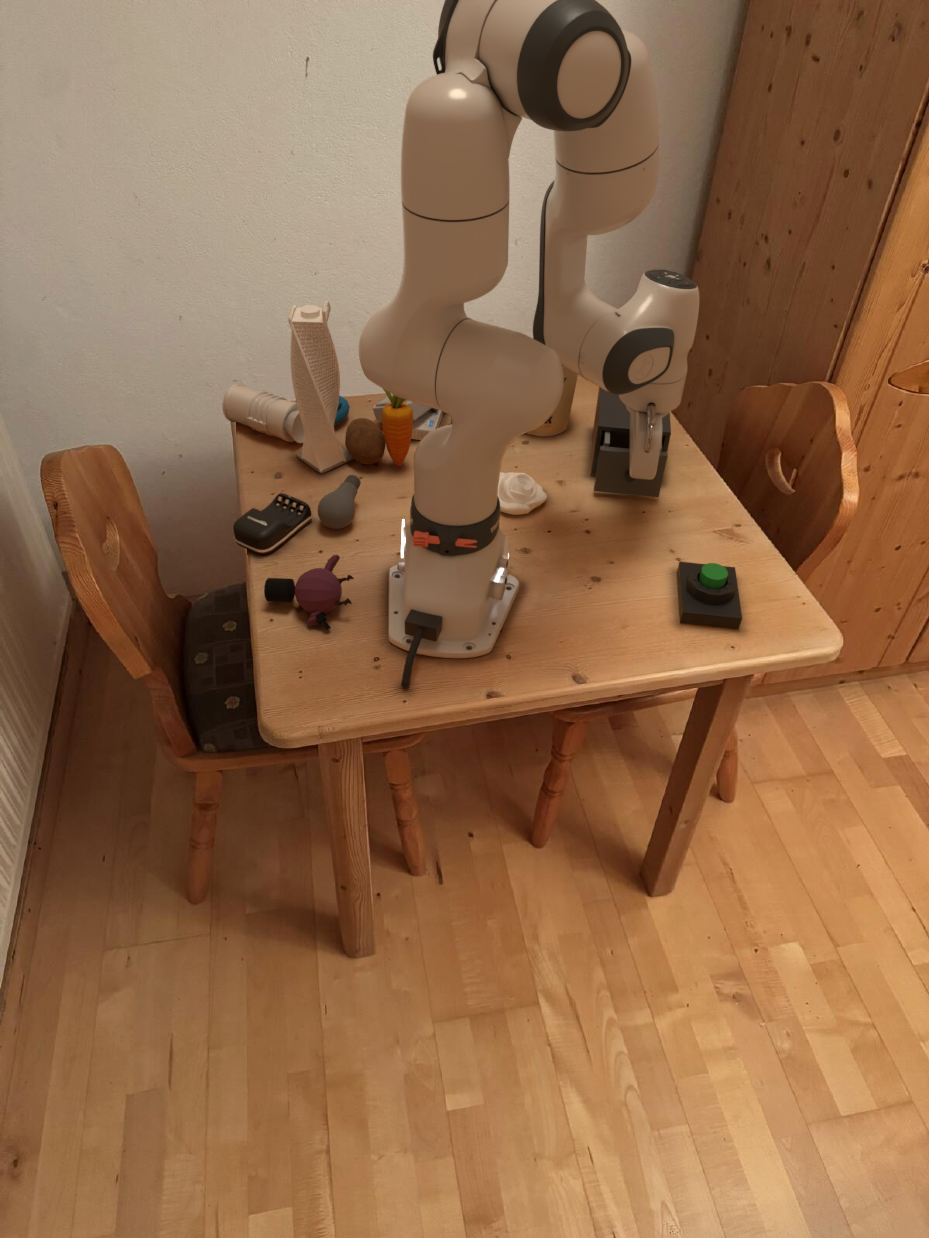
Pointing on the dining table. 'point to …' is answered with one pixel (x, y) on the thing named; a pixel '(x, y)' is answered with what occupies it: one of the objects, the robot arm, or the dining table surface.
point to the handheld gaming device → (416, 407)
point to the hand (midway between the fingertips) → (636, 468)
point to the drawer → (624, 468)
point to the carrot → (397, 427)
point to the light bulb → (339, 504)
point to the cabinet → (616, 423)
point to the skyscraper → (316, 386)
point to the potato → (365, 441)
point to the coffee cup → (559, 406)
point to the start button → (713, 576)
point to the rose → (519, 493)
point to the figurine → (310, 591)
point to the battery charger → (271, 524)
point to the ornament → (342, 410)
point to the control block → (707, 599)
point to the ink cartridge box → (426, 423)
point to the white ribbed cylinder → (263, 413)
